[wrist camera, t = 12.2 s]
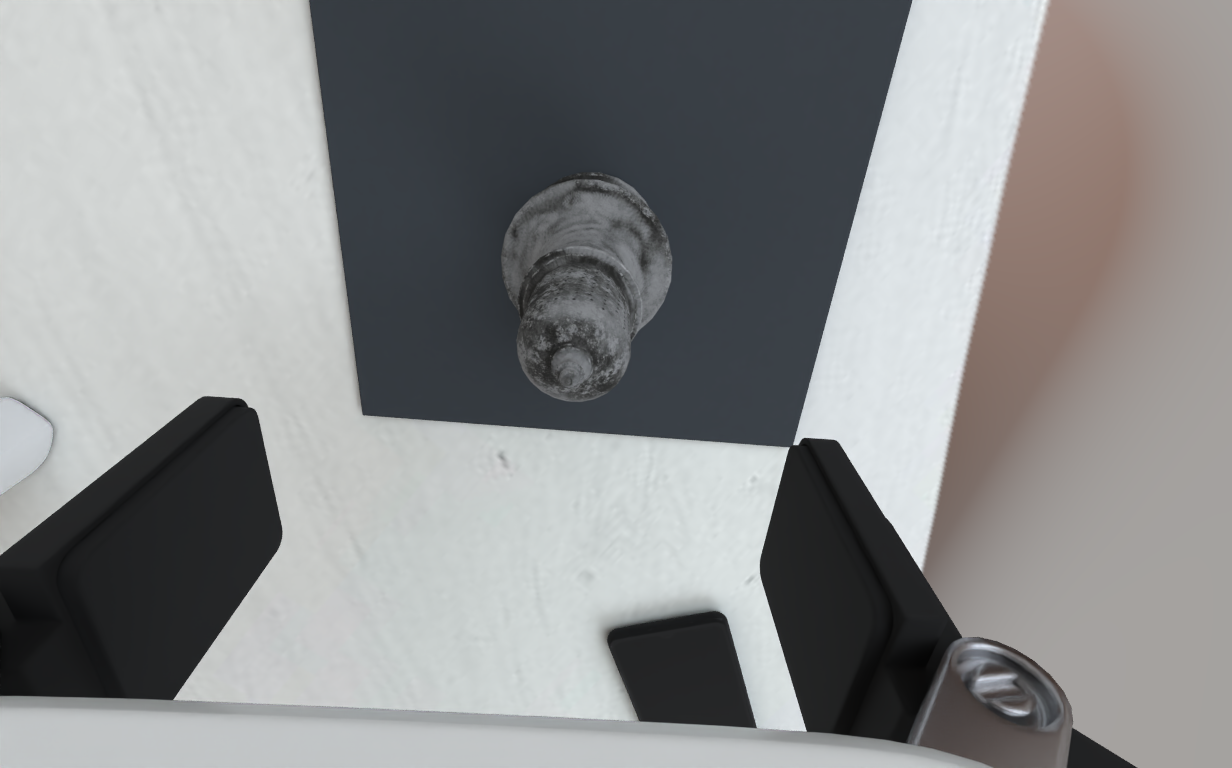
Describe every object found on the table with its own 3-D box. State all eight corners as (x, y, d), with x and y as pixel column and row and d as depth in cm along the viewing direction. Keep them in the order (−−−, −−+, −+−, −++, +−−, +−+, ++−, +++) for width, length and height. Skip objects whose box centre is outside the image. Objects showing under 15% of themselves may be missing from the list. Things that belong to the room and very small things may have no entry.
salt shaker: (606, 129, 22) (593, 188, 11) (694, 257, 24) (753, 408, 13) (485, 225, 23) (375, 357, 13) (578, 337, 26) (549, 528, 15)
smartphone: (665, 786, 40) (604, 639, 34) (664, 773, 41) (604, 627, 34) (768, 772, 39) (726, 618, 33) (765, 759, 40) (724, 605, 33)
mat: (364, 412, 28) (362, 415, 28) (304, -67, 19) (299, -69, 19) (790, 444, 29) (792, 447, 28) (910, -4, 20) (914, -5, 20)
